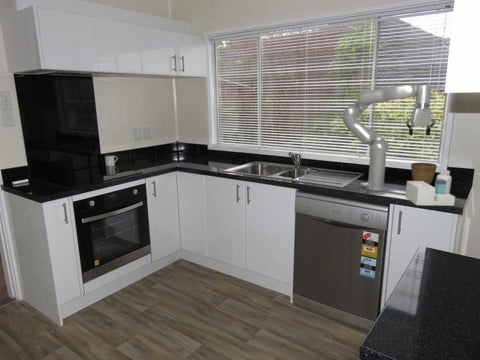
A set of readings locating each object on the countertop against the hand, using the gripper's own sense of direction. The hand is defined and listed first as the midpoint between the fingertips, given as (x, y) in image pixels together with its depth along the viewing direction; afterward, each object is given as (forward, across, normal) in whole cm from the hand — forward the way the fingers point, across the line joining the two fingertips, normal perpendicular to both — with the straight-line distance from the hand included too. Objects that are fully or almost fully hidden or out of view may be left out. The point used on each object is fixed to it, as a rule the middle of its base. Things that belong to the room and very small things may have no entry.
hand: (419, 135), depth 208 cm
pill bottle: (+36, +16, -3) cm, 40 cm away
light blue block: (+35, +8, -17) cm, 39 cm away
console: (+36, +2, -17) cm, 40 cm away
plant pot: (+36, +10, +12) cm, 40 cm away
